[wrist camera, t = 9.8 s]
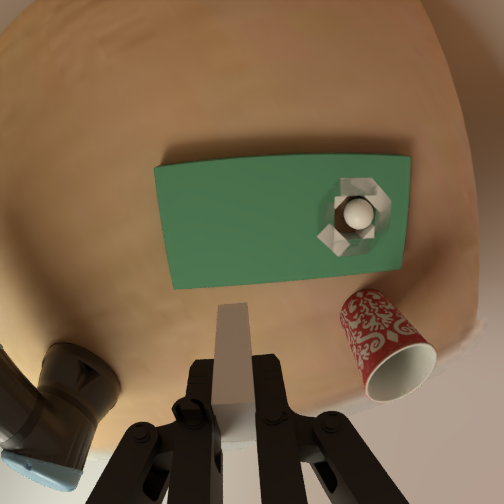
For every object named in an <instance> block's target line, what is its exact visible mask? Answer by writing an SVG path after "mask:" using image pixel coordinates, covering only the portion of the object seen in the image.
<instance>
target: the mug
mask: <svg viewBox="0 0 504 504" xmlns="http://www.w3.org/2000/svg"><path fill="white" fill-rule="evenodd" d="M340 319H341V323H342V326H343V329H344V331H345V333H346V336H347V339H348V341H349V344H350V347H351V349H352V352H353V354H354V357H355V360H356V363H357V366H358V369H359V371H360V374H361V377H362V380H363V383H364V386H365V387H364V389H365V394H366V396H367V397H368V398H369V399H370V400H372V401H374V402H378V403H386V402H391V401H395V400H398V399H400V398H402V397H404V396H406V395H408V394H410V393H411V392H413V391H414V390H416V389H417V388H418V387H419V386H421V385H422V384H423V383H424V382H425V380H426V379H427V378H428V377H429V375H430V374H431V372H432V371H433V369H434V367H435V364H436V360H437V353H436V350H435V348H434V347H433V346H432V345H431V344H430V343H428V342H427V341H426V340H425V339H424V338H423V337H422V336H421V335H420V333H419V332H418V331H417V330H416V329H415V328H414V327H413V326H412V325H411V324H410V323H409V322H408V320H407V319H406V318H405V317H404V316H403V315H402V314H401V313H400V312H399V311H398V310H397V308H396V307H394V305H393V304H392V303H391V302H390V301H389V300H388V299H387V298H386V297H385V296H384V295H383V294H382V293H381V292H379V291H377V290H373V289H367V290H362V291H359V292H357V293H355V294H354V295H352V296H351V297H350V298H349V299H348V300H347V301H346V302H345V304H344V305H343V307H342V310H341V314H340Z"/></svg>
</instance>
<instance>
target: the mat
mask: <svg viewBox="0 0 504 504" xmlns="http://www.w3.org/2000/svg"><path fill="white" fill-rule="evenodd" d="M410 161H411V157H409V156H404V155H395V154H372V153H296V154H272V155H255V156H241V157H228V158H217V159H207V160H198V161H189V162H181V163H173V164H166V165H159V166H157V167H155V168H154V175H155V182H156V190H157V197H158V204H159V211H160V217H161V224H162V230H163V236H164V241H165V247H166V253H167V258H168V263H169V268H170V274H171V279H172V283H173V288H174V290H175V289H192V288H207V287H221V286H235V285H248V284H260V283H272V282H283V281H295V280H305V279H316V278H326V277H336V276H345V275H354V274H363V273H372V272H381V271H389V270H398V269H401V267H402V260H403V253H404V245H405V237H406V227H407V217H408V205H409V189H410ZM347 196H361V197H362V198H363V199H364V200H366V201H367V202H368V203H369V204H370V205H371V206H372V208H373V212H374V216H373V220H372V222H371V224H370V225H369V226H368V227H366V228H364V229H357V230H356V231H355V232H342V233H339V232H338V231H337V230H336V229H335V228H334V219H335V209H336V208H337V207H338V206H339V205H340V204H341V203H342V202H343V200H344V199H345V198H346V197H347Z"/></svg>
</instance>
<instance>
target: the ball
mask: <svg viewBox="0 0 504 504" xmlns="http://www.w3.org/2000/svg"><path fill="white" fill-rule="evenodd" d="M373 216H374V212H373V208H372V206H371V205H370V204H369V203H368V202H367V201H366V200H364V199H353V200H351V201H349V202H348V203H347V205H346V206H345V209H344V219H345V221H346V223H347V224H348V225H349V226H350V227H352V228H354V229H364V228H366V227H368V226H369V225H370V224H371V222H372V220H373Z"/></svg>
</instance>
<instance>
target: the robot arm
mask: <svg viewBox="0 0 504 504" xmlns="http://www.w3.org/2000/svg"><path fill="white" fill-rule="evenodd" d="M187 384H188V385H187V389H186V396H185V397H183V398H181V399H179V400H177V401H176V402H175V403H174V405H173V407H172V412H173V414H174V416H175V418H176V421H174V422H173V423H170V424H167V425H163V426H159V427H155V426H154V425H152V424H150V423H148V422H138V423H135V424H133V425H131V426H130V427H129V428H128V429H127V430H126V432H125V434H124V436H123V437H122V439H121V441H120V443H119V444H118V446H117V448H116V450H115V451H114V453H113V455H112V457H111V458H110V460H109V462H108V464H107V466H106V467H105V469H104V471H103V473H102V474H101V476H100V478H99V480H98V482H97V483H96V485H95V487H94V489H93V491H92V492H91V494H90V496H89V498H88V500H87V501H86V503H85V504H162V501H163V499H164V497H165V494H166V491H167V489H168V487H169V491H168V500H167V504H223V453H222V449H221V440H222V442H239V441H255V440H257V452H258V465H259V477H260V489H261V502H262V504H308V502H307V496H306V491H305V485H304V480H303V474H302V469H301V463H300V462H307V463H310V465H311V467H312V469H313V470H314V472H315V474H316V476H317V478H318V480H319V482H320V483H321V485H322V487H323V489H324V491H325V492H326V494H327V496H328V498H329V499H330V501H331V503H332V504H409V503H408V501H407V500H406V498H405V497H404V496H403V494H402V493H401V492H400V490H399V489H398V487H397V486H396V485H395V484H394V482H393V481H392V479H391V478H390V477H389V475H388V474H387V472H386V471H385V470H384V469H383V467H382V466H381V464H380V463H379V461H378V460H377V459H376V457H375V456H374V454H373V453H372V452H371V450H370V449H369V447H368V446H367V445H366V443H365V442H364V440H363V439H362V438H361V436H360V435H359V433H358V432H357V430H356V429H355V428H354V426H353V425H352V424H351V422H350V421H349V419H348V418H347V417H346V416H345V415H344V414H342V413H340V412H337V411H327V412H323V413H321V414H320V415H318V416H317V417H307V416H302V415H299V414H297V413H295V412H294V411H292V410H291V409H290V407H289V405H288V402H287V397H286V391H285V386H284V381H283V375H282V371H281V365H280V361H279V359H278V358H277V357H276V356H275V355H274V354H265V355H254V356H252V350H251V338H250V327H249V317H248V306H247V303H236V304H223V305H218V315H217V327H216V340H215V354H214V359H201V360H195V361H194V363H193V364H192V365H191V367H190V370H189V378H188V383H187ZM119 395H120V384H119V381H118V379H117V377H116V375H115V374H114V373H113V371H112V370H111V369H110V368H109V367H108V366H107V365H106V364H105V363H104V362H103V361H102V360H101V359H100V358H98V357H97V356H96V355H94V354H93V353H91V352H89V351H87V350H86V349H83V348H81V347H79V346H76V345H73V344H68V343H58V344H55V345H53V346H51V347H50V349H49V350H48V351H47V353H46V354H45V356H44V358H43V361H42V370H41V373H40V377H39V382H38V386H37V388H36V387H35V386H34V385H33V384H32V383H31V382H30V381H29V380H28V379H27V378H26V377H25V375H24V374H23V373H22V372H21V371H20V370H19V368H18V367H17V366H16V365H15V363H14V362H13V361H12V360H11V358H10V357H9V356H8V355H7V353H6V352H5V351H4V349H3V346H2V345H1V344H0V446H1V447H2V448H3V451H2V452H1V458H2V460H3V461H4V462H5V463H6V464H7V465H8V466H9V467H11V468H12V469H13V470H15V471H17V472H18V473H20V474H22V475H23V476H25V477H27V478H29V479H31V480H33V481H35V482H37V483H40V484H42V485H44V486H47V487H49V488H52V489H55V490H59V491H64V492H70V491H73V490H74V489H76V487H77V485H78V482H79V480H80V477H81V475H82V474H83V468H84V465H85V461H86V458H87V455H88V452H89V449H90V446H91V443H92V440H93V437H94V434H95V431H96V428H97V425H98V423H99V422H100V421H101V420H102V419H103V417H104V416H105V415H106V414H107V413H108V412H109V410H111V409H112V408H113V407H114V406H115V404H116V403H117V400H118V397H119Z"/></svg>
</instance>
